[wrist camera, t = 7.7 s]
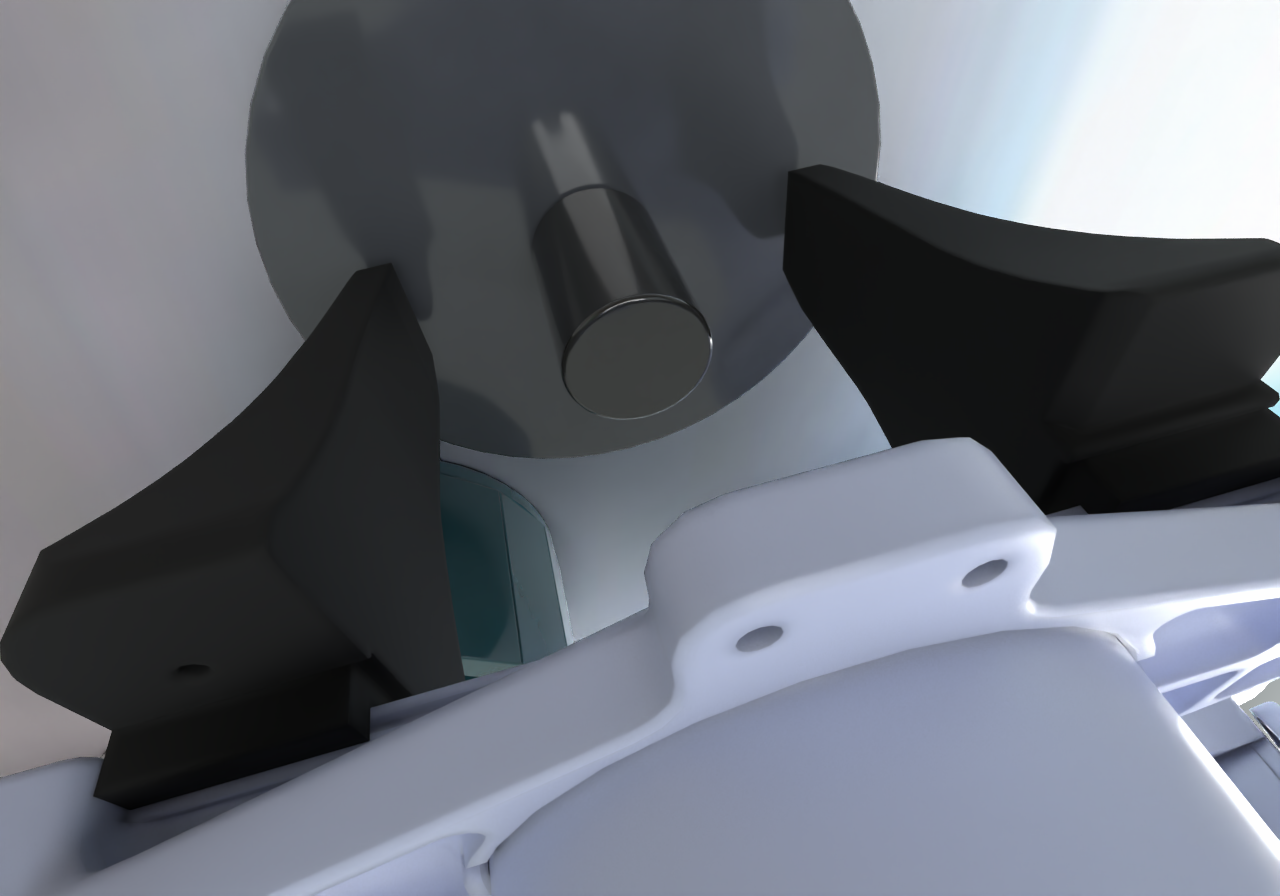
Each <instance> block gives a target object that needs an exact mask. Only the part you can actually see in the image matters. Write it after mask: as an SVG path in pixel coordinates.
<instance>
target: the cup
mask: <svg viewBox="0 0 1280 896" xmlns="http://www.w3.org/2000/svg"><path fill="white" fill-rule="evenodd" d="M440 508H441V522H442V530H443V538H444V546H445V554H446V562H447V569H448V576H449V583H450V590H451V597H452V604H453V610H454V617H455V623H456V629H457V635H458V641H459V647H460V653H461V659H462V665H463V670H464V676H465V681H467V680H470V679H474V678H477V677H481V676H484V675H488V674H491V673H495V672H498V671H502V670H505V669H509V668H512V667H516V666H519V665H523V664H526V663H530V662H533V661H537V660H540V659H542V658H544V657H546V656H548V655H550V654H552V653H555V652H557V651H559V650H561V649H563V648H565V647H567V646H569V645H571V644H573V643H574V638H573V633H572V628H571V622H570V617H569V612H568V607H567V602H566V597H565V592H564V587H563V582H562V576H561V571H560V566H559V562H558V559H557V557H556V554H555V551H554V548H553V543H552V539H551V535H550V531H549V529H548V527H547V525H546V523H545V521H544V519H543V518H542V517H541V515H540V514H539V513H538V512H537V510H536V509H535V508H534V506H533V505H532V504H530V503H529V502H528V501H527V500H526V499H525V498H524V497H523V496H522V495H520V494H519V493H518V492H516V491H515V490H513V489H512V488H510V487H509V486H507V485H506V484H504V483H502V482H500V481H498V480H496V479H494V478H492V477H490V476H488V475H486V474H483V473H481V472H478V471H475V470H472V469H469V468H467V467H464V466H461V465H457V464H452V463H448V462H444V461H440Z"/></svg>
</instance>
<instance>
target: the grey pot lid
mask: <svg viewBox="0 0 1280 896" xmlns="http://www.w3.org/2000/svg"><path fill="white" fill-rule="evenodd" d="M880 145H881V140H880V104H879V98H878V92H877V86H876V80H875V74H874V67H873V62H872V59H871V56H870V53H869V49H868V46H867V43H866V40H865V37H864V33H863V30H862V27H861V24H860V21H859V19H858V17H857V15H856V13H855V11H854V9H853V7H852V5H851V3H850V1H849V0H289V2H288V4H287V6H286V8H285V10H284V12H283V14H282V17H281V19H280V21H279V23H278V25H277V27H276V29H275V32H274V34H273V36H272V38H271V40H270V42H269V45H268V47H267V49H266V51H265V54H264V57H263V60H262V64H261V68H260V71H259V75H258V78H257V82H256V86H255V89H254V93H253V96H252V100H251V103H250V111H249V120H248V130H247V139H246V148H245V166H246V187H247V202H248V207H249V212H250V217H251V221H252V226H253V231H254V236H255V241H256V245H257V248H258V250H259V253H260V256H261V259H262V261H263V264H264V267H265V270H266V273H267V275H268V278H269V281H270V283H271V285H272V287H273V289H274V291H275V293H276V295H277V297H278V298H279V300H280V302H281V304H282V306H283V308H284V310H285V312H286V313H287V315H288V317H289V319H290V320H291V322H292V323H293V325H294V326H295V327H296V329H297V330H298V332H299V333H300V334H301V336H302V337H303V338H304V340H305V341H306V340H307V339H308V337H309V336H310V335H311V333H312V332H313V331H314V329H315V328H316V326H317V325H318V324H319V322H320V321H321V319H322V318H323V316H324V315H325V314H326V312H327V311H328V309H329V308H330V307H331V305H332V304H333V302H334V301H335V299H336V298H337V296H338V295H339V293H340V292H341V291H342V289H343V288H344V286H345V285H346V283H347V282H348V281H349V279H350V278H351V277H352V275H353V274H354V273H355V272H356V271H358V270H362V269H367V268H371V267H375V266H380V265H384V264H388V263H392V265H393V267H394V269H395V272H396V274H397V276H398V278H399V281H400V283H401V285H402V287H403V290H404V292H405V294H406V296H407V299H408V301H409V303H410V305H411V308H412V310H413V312H414V314H415V317H416V319H417V321H418V323H419V325H420V328H421V330H422V332H423V334H424V337H425V339H426V341H427V343H428V346H429V348H430V350H431V352H432V355H433V361H434V367H435V373H436V379H437V386H438V393H439V404H440V440H442V441H445V442H448V443H450V444H453V445H457V446H461V447H465V448H469V449H473V450H476V451H480V452H485V453H492V454H498V455H504V456H511V457H524V458H540V459H547V458H574V457H582V456H590V455H598V454H604V453H609V452H614V451H618V450H623V449H628V448H632V447H635V446H638V445H642V444H645V443H648V442H651V441H654V440H658V439H660V438H663V437H665V436H668V435H670V434H673V433H675V432H678V431H680V430H682V429H685V428H687V427H689V426H691V425H693V424H695V423H697V422H699V421H701V420H703V419H705V418H707V417H709V416H711V415H712V414H714V413H716V412H717V411H719V410H720V409H722V408H724V407H725V406H727V405H728V404H730V403H732V402H733V401H735V400H736V399H738V398H739V397H741V396H742V395H743V394H744V393H746V392H747V391H748V390H750V389H751V388H752V387H754V386H755V385H756V384H758V383H759V382H760V381H762V380H763V379H764V378H765V377H766V376H767V375H768V374H769V373H770V372H772V371H773V370H774V369H775V368H776V367H777V366H778V365H779V364H780V363H781V362H782V361H784V360H785V359H786V358H787V356H788V355H789V354H790V353H791V352H792V351H793V350H794V349H795V348H796V347H797V345H798V344H799V343H800V342H801V341H802V340H803V339H804V338H805V337H806V335H807V334H808V333H809V331H810V330H811V329H812V327H813V325H812V323H811V322H810V321H809V319H808V318H807V316H806V315H805V313H804V312H803V310H802V309H801V307H800V305H799V303H798V301H797V299H796V297H795V295H794V293H793V291H792V289H791V287H790V285H789V283H788V280H787V278H786V276H785V274H784V272H783V270H782V269H783V252H784V234H785V217H786V200H787V183H788V171H793V170H797V169H801V168H806V167H810V166H814V165H819V164H822V165H827V166H831V167H835V168H839V169H842V170H845V171H848V172H851V173H854V174H857V175H860V176H863V177H866V178H868V179H871V180H874V181H877V175H878V165H879V155H880Z"/></svg>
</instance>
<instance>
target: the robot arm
mask: <svg viewBox="0 0 1280 896" xmlns="http://www.w3.org/2000/svg"><path fill="white" fill-rule="evenodd" d="M782 270H783V272H784V274H785V276H786V278H787V280H788V283H789V285H790V287H791V289H792V291H793V293H794V295H795V297H796V299H797V301H798V303H799V305H800V307H801V309H802V310H803V312H804V313H805V315H806V316H807V318H808V319H809V321H810V322H811V323H812V325H813V326H814V328H815V329H816V331H817V332H818V333H819V335H820V336H821V338H822V339H823V340H824V342H825V343H826V345H827V346H828V347H829V349H830V350H831V352H832V353H833V354H834V356H835V357H836V358H837V360H838V361H839V363H840V364H841V365H842V367H843V368H844V370H845V371H846V372H847V374H848V375H849V376H850V378H851V379H852V381H853V382H854V383H855V385H856V386H857V388H858V389H859V391H860V392H861V394H862V395H863V397H864V398H865V400H866V402H867V403H868V405H869V406H870V408H871V410H872V412H873V414H874V416H875V417H876V419H877V421H878V423H879V425H880V427H881V429H882V430H883V432H884V434H885V436H886V438H887V440H888V441H889V443H890V445H891V447H892V449H888V450H884V451H881V452H877V453H873V454H870V455H866V456H862V457H858V458H855V459H851V460H847V461H844V462H840V463H836V464H833V465H829V466H825V467H821V468H818V469H814V470H810V471H807V472H803V473H799V474H796V475H792V476H788V477H785V478H781V479H777V480H773V481H770V482H766V483H762V484H759V485H755V486H751V487H748V488H744V489H740V490H736V491H733V492H729V493H725V494H723V495H721V496H719V497H716V498H714V499H712V500H710V501H707V502H705V503H703V504H701V505H698V506H696V507H694V508H692V509H689V510H687V511H685V512H684V513H683V514H682V515H681V516H679V517H678V518H677V519H676V520H675V521H674V522H673V523H672V524H671V525H670V526H669V527H668V528H667V529H666V530H665V531H664V532H663V533H662V534H660V535H659V536H658V537H657V538H656V540H655V541H654V542H653V543H652V544H651V548H650V552H649V556H648V559H647V563H646V567H645V571H644V575H645V580H646V585H647V590H648V595H649V607H647V608H645V609H643V610H641V611H639V612H637V613H635V614H633V615H631V616H629V617H627V618H625V619H623V620H621V621H619V622H616V623H614V624H612V625H610V626H608V627H606V628H604V629H602V630H600V631H598V632H596V633H594V634H592V635H590V636H588V637H586V638H583V639H581V640H579V641H577V642H575V643H573V644H571V645H569V646H567V647H565V648H563V649H561V650H559V651H557V652H555V653H552V654H550V655H548V656H546V657H544V658H542V659H540V660H537V661H533V662H530V663H526V664H523V665H519V666H516V667H512V668H509V669H505V670H502V671H498V672H495V673H491V674H488V675H484V676H481V677H477V678H474V679H470V680H467V681H465V676H464V670H463V665H462V659H461V653H460V647H459V641H458V635H457V629H456V623H455V617H454V610H453V604H452V597H451V590H450V583H449V576H448V569H447V562H446V554H445V546H444V538H443V530H442V522H441V508H440V404H439V393H438V386H437V379H436V373H435V367H434V361H433V355H432V352H431V350H430V348H429V346H428V343H427V341H426V339H425V337H424V334H423V332H422V330H421V328H420V325H419V323H418V321H417V319H416V317H415V314H414V312H413V310H412V308H411V305H410V303H409V301H408V299H407V296H406V294H405V292H404V290H403V287H402V285H401V283H400V281H399V278H398V276H397V274H396V272H395V269H394V267H393V265H392V263H388V264H384V265H380V266H375V267H371V268H367V269H362V270H358V271H356V272H355V273H354V274H353V275H352V277H351V278H350V279H349V281H348V282H347V283H346V285H345V286H344V288H343V289H342V291H341V292H340V293H339V295H338V296H337V298H336V299H335V301H334V302H333V304H332V305H331V307H330V308H329V309H328V311H327V312H326V314H325V315H324V316H323V318H322V319H321V321H320V322H319V324H318V325H317V326H316V328H315V329H314V331H313V332H312V333H311V335H310V336H309V337H308V339H307V340H306V341H305V342H304V344H303V345H302V346H301V347H300V349H299V350H298V351H297V352H296V354H295V355H294V356H293V357H292V359H291V360H290V361H289V362H288V363H287V365H286V366H285V367H284V368H283V370H282V371H281V372H280V373H279V375H278V376H277V377H276V378H275V379H274V380H273V381H272V382H271V383H270V384H269V386H268V387H267V388H266V389H265V390H264V391H263V392H262V393H261V394H260V395H259V396H258V397H257V398H256V399H255V400H254V401H253V402H252V403H251V404H250V405H249V406H248V407H247V408H246V409H245V410H244V411H243V412H242V413H241V414H240V415H238V416H237V417H236V418H235V419H234V420H233V421H232V422H231V423H229V424H228V425H227V426H226V427H225V428H223V429H222V430H221V431H220V432H219V433H217V434H216V435H215V436H214V437H213V438H211V439H210V440H209V441H208V442H207V443H205V444H204V445H203V446H202V447H201V448H199V449H198V450H197V451H196V452H195V453H193V454H192V455H191V456H190V457H188V458H187V459H186V460H184V461H183V462H182V463H180V464H179V465H178V466H176V467H175V468H173V469H172V470H171V471H169V472H168V473H166V474H165V475H164V476H162V477H161V478H160V479H158V480H157V481H155V482H154V483H152V484H151V485H149V486H148V487H146V488H145V489H143V490H142V491H140V492H139V493H137V494H136V495H134V496H133V497H131V498H130V499H128V500H127V501H125V502H123V503H122V504H120V505H119V506H117V507H116V508H114V509H112V510H111V511H109V512H107V513H105V514H104V515H102V516H100V517H99V518H97V519H95V520H93V521H92V522H90V523H88V524H87V525H85V526H83V527H82V528H80V529H78V530H76V531H75V532H73V533H71V534H70V535H68V536H66V537H64V538H63V539H61V540H59V541H58V542H56V543H54V544H52V545H50V546H48V547H47V548H45V549H43V550H41V551H40V553H39V556H38V558H37V560H36V563H35V565H34V567H33V569H32V572H31V574H30V576H29V578H28V581H27V583H26V585H25V587H24V590H23V592H22V594H21V596H20V599H19V601H18V603H17V605H16V608H15V610H14V612H13V614H12V617H11V619H10V621H9V623H8V626H7V628H6V630H5V633H4V635H3V637H2V639H1V642H0V658H1V661H2V663H3V664H4V666H5V667H6V668H7V670H8V671H9V672H10V674H11V675H12V676H13V677H14V678H15V679H16V680H17V681H18V682H20V683H21V684H23V685H24V686H26V687H27V688H29V689H30V690H32V691H33V692H35V693H37V694H38V695H40V696H42V697H44V698H46V699H49V700H51V701H53V702H55V703H57V704H59V705H61V706H63V707H65V708H67V709H69V710H71V711H73V712H75V713H77V714H79V715H81V716H83V717H85V718H87V719H89V720H91V721H93V722H95V723H97V724H99V725H101V726H103V727H105V728H107V729H109V730H111V731H112V733H111V736H110V740H109V743H108V747H107V750H106V754H105V757H104V759H102V758H98V757H79V758H73V759H67V760H62V761H58V762H55V763H51V764H48V765H44V766H40V767H37V768H33V769H30V770H26V771H23V772H19V773H16V774H12V775H8V776H5V777H1V778H0V896H1280V752H1279V750H1280V705H1279V704H1278V703H1275V702H1272V701H1269V702H1265V703H1262V704H1260V705H1258V706H1255V707H1253V708H1251V709H1249V710H1250V712H1251V713H1252V715H1253V716H1254V718H1255V719H1256V720H1257V722H1258V723H1259V724H1260V725H1261V727H1262V728H1263V729H1264V730H1265V732H1266V733H1267V734H1268V735H1269V737H1270V738H1271V739H1272V740H1273V742H1275V744H1276V745H1277V746H1278V748H1279V750H1278V749H1276V747H1275V746H1274V745H1273V744H1272V743H1271V742H1270V741H1269V739H1268V738H1267V737H1266V736H1265V735H1264V734H1263V732H1261V730H1260V729H1259V728H1258V727H1257V726H1256V724H1255V723H1254V722H1253V721H1252V720H1251V719H1250V717H1249V716H1248V715H1247V714H1246V713H1245V712H1244V711H1243V710H1242V709H1241V707H1240V706H1239V705H1240V704H1242V703H1244V702H1246V701H1248V700H1250V699H1252V698H1254V697H1255V696H1256V695H1257V694H1258V693H1260V692H1261V691H1262V690H1263V689H1264V688H1265V686H1266V685H1267V684H1268V683H1269V682H1271V681H1274V680H1277V679H1279V678H1280V417H1279V416H1277V415H1276V414H1275V413H1273V412H1272V411H1271V410H1269V409H1268V408H1269V407H1273V406H1275V404H1276V403H1277V402H1278V401H1279V400H1280V398H1279V393H1278V392H1276V391H1275V390H1274V389H1272V388H1271V387H1269V386H1268V385H1267V384H1265V383H1264V382H1263V381H1261V380H1260V379H1261V378H1262V377H1263V376H1264V374H1265V373H1266V372H1267V371H1268V369H1269V368H1270V367H1271V366H1272V364H1273V363H1274V362H1275V361H1276V359H1277V358H1278V357H1279V355H1280V244H1279V243H1277V242H1275V241H1272V240H1269V239H1265V238H1240V239H1167V238H1147V237H1127V236H1114V235H1102V234H1091V233H1083V232H1075V231H1067V230H1059V229H1051V228H1045V227H1039V226H1033V225H1027V224H1022V223H1017V222H1013V221H1008V220H1003V219H998V218H993V217H989V216H985V215H981V214H976V213H973V212H969V211H965V210H962V209H958V208H955V207H952V206H948V205H945V204H941V203H938V202H935V201H932V200H929V199H925V198H922V197H919V196H916V195H913V194H911V193H908V192H905V191H902V190H899V189H896V188H893V187H891V186H888V185H885V184H882V183H880V182H877V181H874V180H871V179H868V178H866V177H863V176H860V175H857V174H854V173H851V172H848V171H845V170H842V169H839V168H835V167H831V166H827V165H822V164H819V165H814V166H810V167H806V168H801V169H797V170H793V171H788V183H787V200H786V217H785V234H784V252H783V269H782Z"/></svg>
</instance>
